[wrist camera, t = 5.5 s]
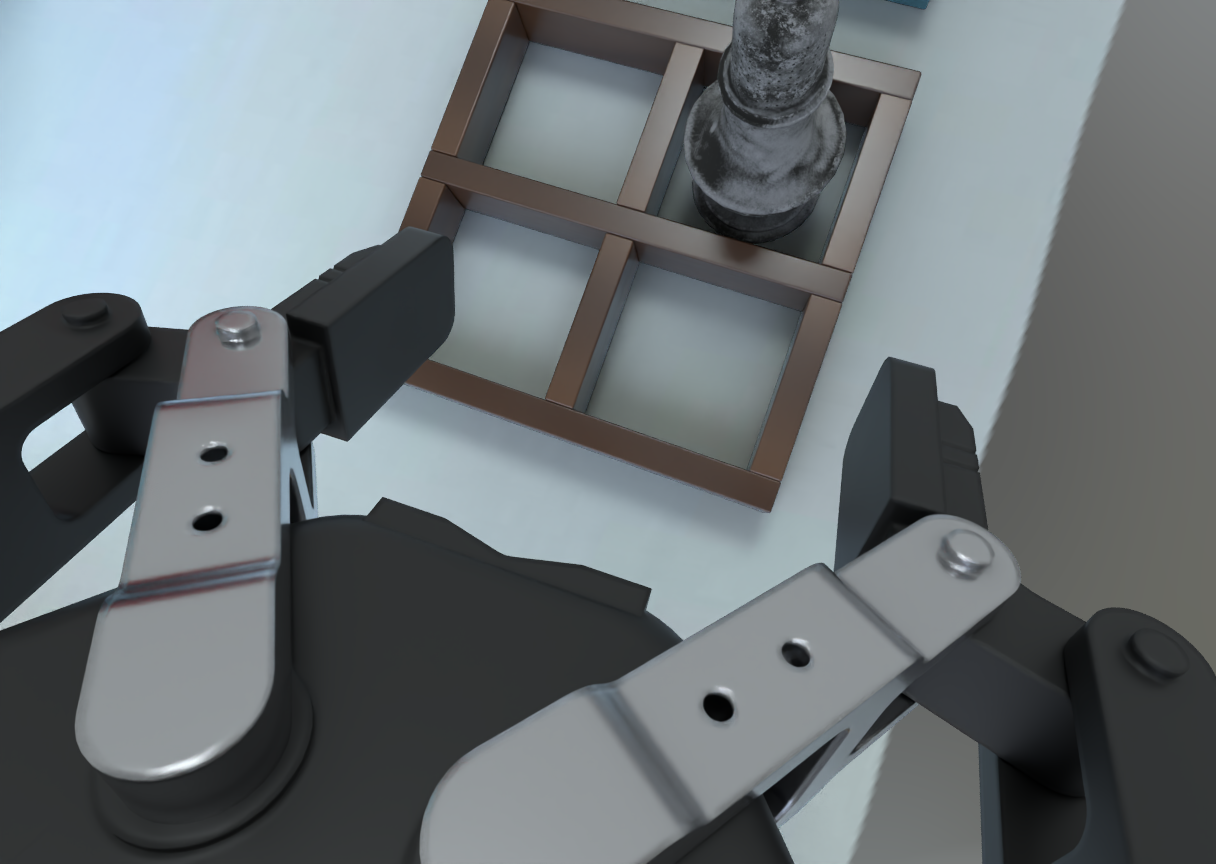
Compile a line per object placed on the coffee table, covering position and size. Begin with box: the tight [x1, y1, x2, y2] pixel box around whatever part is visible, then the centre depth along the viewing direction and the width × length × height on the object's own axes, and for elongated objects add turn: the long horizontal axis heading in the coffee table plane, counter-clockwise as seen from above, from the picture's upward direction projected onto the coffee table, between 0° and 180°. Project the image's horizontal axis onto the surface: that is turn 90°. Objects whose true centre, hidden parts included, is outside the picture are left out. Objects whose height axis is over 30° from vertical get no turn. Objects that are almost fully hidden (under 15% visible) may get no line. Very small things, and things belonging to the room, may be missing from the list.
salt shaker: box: [683, 0, 846, 243], centre depth 23 cm, size 6×6×12 cm
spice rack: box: [398, 0, 921, 513], centre depth 28 cm, size 18×18×2 cm
